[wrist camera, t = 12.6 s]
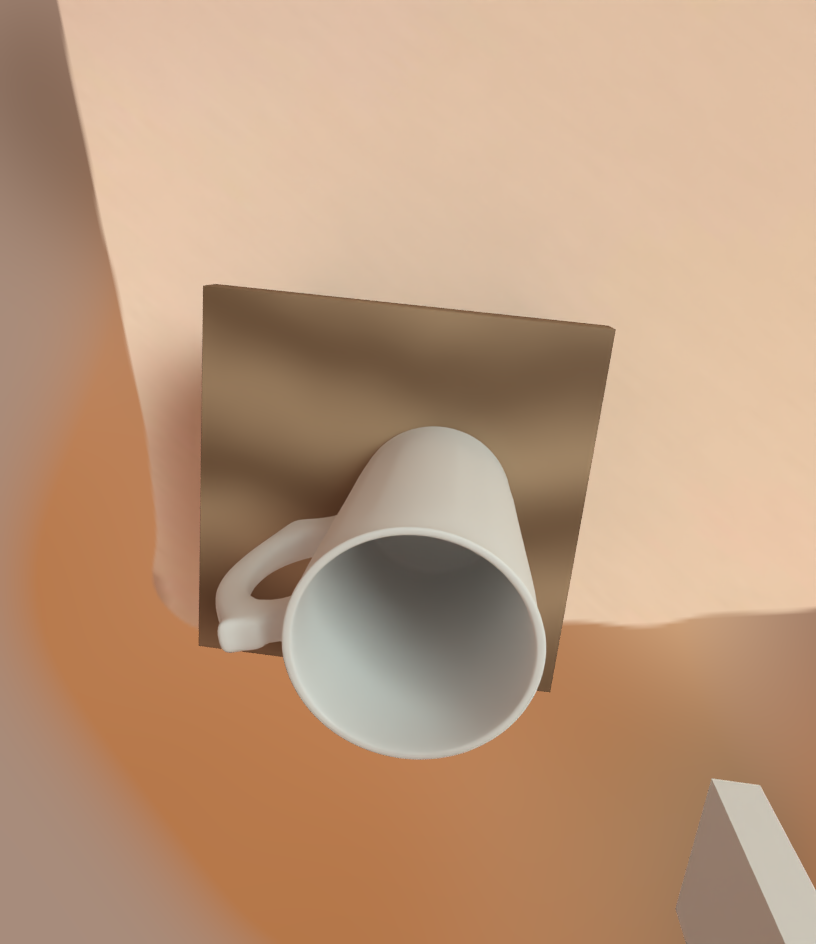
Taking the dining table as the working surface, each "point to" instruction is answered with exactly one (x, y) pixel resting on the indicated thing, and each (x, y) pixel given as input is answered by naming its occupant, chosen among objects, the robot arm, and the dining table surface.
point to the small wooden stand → (386, 421)
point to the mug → (403, 602)
